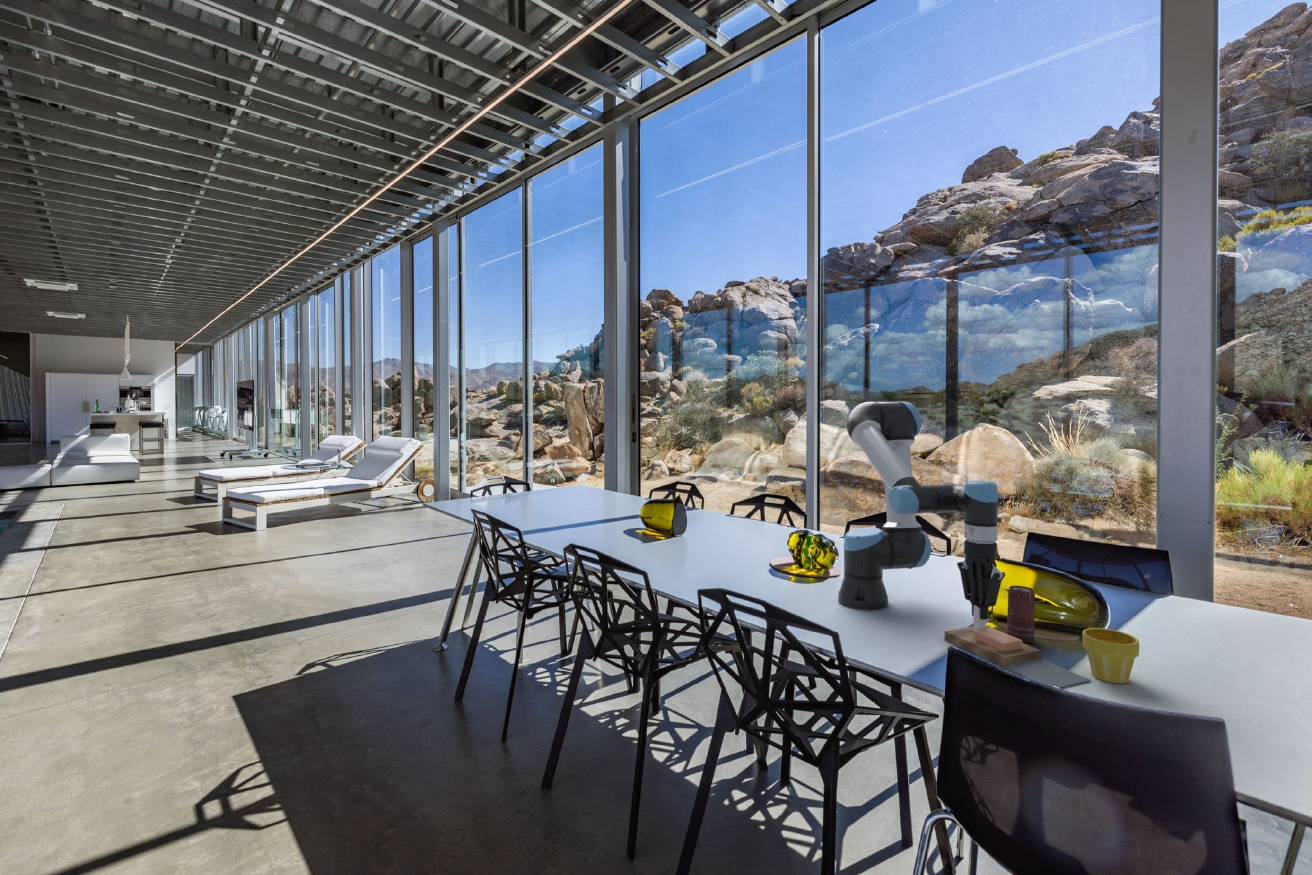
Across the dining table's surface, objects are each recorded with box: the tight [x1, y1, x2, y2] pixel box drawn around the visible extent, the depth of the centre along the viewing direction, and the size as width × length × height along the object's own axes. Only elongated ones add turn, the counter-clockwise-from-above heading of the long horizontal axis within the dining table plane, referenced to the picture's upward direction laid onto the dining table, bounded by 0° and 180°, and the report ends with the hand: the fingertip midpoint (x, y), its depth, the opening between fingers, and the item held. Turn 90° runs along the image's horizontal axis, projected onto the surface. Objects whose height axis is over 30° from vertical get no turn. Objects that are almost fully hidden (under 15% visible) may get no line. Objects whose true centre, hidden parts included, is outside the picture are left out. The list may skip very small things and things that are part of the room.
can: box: [1006, 585, 1036, 645], centre depth 157 cm, size 6×6×14 cm
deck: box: [944, 625, 1042, 669], centre depth 151 cm, size 18×12×2 cm, turn 19°
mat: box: [1004, 658, 1092, 689], centre depth 137 cm, size 12×12×1 cm
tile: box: [973, 627, 1022, 652], centre depth 149 cm, size 9×6×2 cm, turn 19°
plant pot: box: [1082, 627, 1140, 685], centre depth 135 cm, size 10×10×10 cm
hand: (979, 629), depth 154 cm, fingers closed
